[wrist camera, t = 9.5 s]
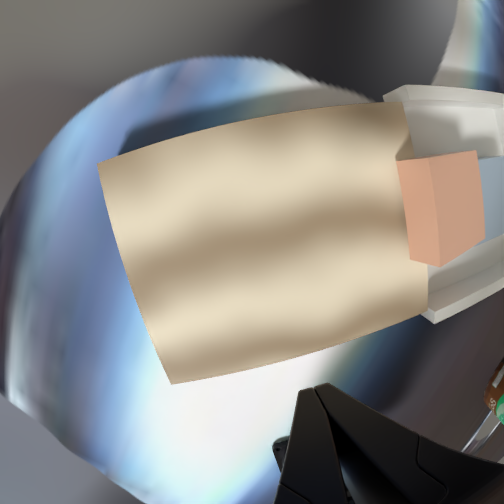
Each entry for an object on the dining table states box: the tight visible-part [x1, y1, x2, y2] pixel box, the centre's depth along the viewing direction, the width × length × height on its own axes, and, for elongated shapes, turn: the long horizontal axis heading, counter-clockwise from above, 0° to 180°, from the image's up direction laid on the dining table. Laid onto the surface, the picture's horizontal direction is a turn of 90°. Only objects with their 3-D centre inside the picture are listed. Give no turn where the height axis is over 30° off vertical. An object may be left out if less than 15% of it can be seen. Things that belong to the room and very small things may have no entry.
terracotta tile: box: [396, 150, 485, 267], centre depth 15 cm, size 6×6×2 cm
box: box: [383, 85, 504, 324], centre depth 17 cm, size 16×14×3 cm
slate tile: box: [474, 156, 504, 247], centre depth 17 cm, size 6×6×2 cm
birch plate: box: [97, 102, 428, 385], centre depth 17 cm, size 14×18×2 cm
